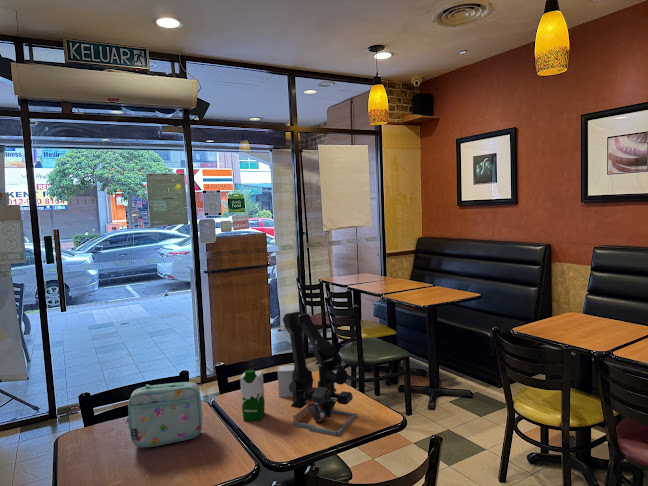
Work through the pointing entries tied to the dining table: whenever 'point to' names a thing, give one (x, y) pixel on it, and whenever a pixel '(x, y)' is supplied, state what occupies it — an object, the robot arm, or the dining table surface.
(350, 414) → the grey flat frame
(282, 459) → the dining table surface
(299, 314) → the robot arm
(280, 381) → the supplement box
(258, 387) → the milk carton
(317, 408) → the supplement bottle
